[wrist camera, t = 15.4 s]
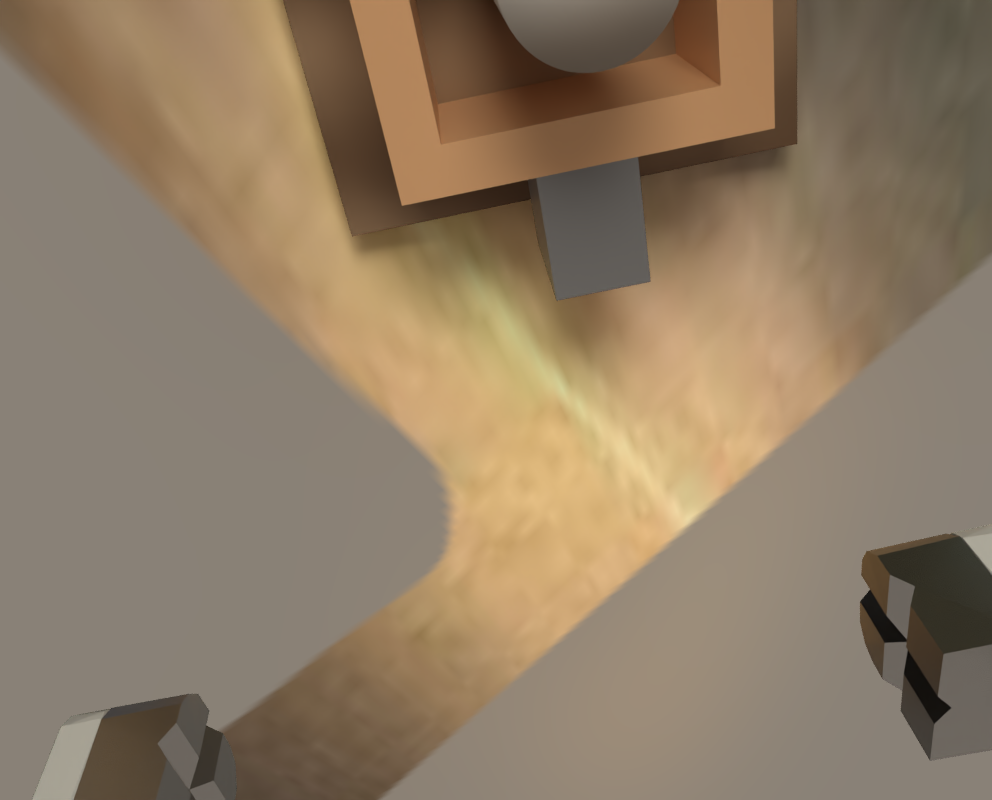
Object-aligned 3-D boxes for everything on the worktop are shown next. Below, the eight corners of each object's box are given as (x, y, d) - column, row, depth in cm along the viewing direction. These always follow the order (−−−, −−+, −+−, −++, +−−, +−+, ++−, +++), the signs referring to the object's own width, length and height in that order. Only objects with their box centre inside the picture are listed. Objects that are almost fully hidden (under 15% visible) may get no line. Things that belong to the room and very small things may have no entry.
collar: (309, -234, 24) (284, -257, 20) (704, -324, 23) (767, -367, 19) (430, 264, 32) (432, 326, 27) (728, 203, 31) (776, 255, 27)
